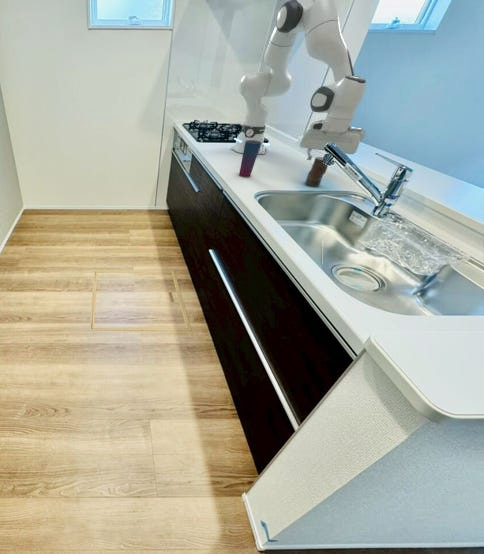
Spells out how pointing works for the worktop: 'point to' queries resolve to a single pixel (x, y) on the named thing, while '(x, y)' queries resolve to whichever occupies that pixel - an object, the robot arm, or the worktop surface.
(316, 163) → the brown short cylinder
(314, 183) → the dark brown cylindrical piece
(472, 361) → the worktop surface
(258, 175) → the worktop surface
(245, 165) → the cup
